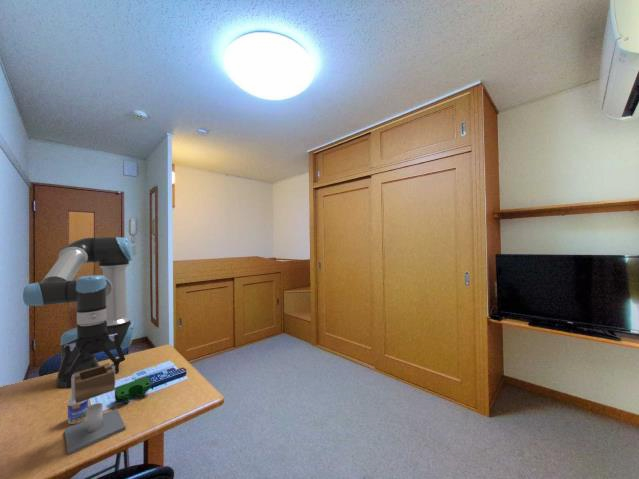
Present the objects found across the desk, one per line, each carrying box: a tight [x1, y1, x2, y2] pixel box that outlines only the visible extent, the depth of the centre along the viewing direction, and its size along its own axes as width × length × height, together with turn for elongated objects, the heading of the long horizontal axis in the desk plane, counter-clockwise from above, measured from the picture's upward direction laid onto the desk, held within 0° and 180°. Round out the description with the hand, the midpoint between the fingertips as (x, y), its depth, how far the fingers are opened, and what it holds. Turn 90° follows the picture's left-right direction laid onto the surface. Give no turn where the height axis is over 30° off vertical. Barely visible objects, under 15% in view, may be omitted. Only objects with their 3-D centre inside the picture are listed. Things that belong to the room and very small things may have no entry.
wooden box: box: [73, 362, 116, 403], centre depth 88 cm, size 10×10×6 cm
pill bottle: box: [67, 393, 89, 425], centre depth 94 cm, size 5×5×10 cm
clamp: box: [114, 375, 152, 404], centre depth 106 cm, size 12×6×9 cm, turn 132°
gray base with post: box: [64, 402, 127, 456], centre depth 88 cm, size 14×14×8 cm
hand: (94, 390), depth 88 cm, fingers closed on wooden box, 9 cm apart
